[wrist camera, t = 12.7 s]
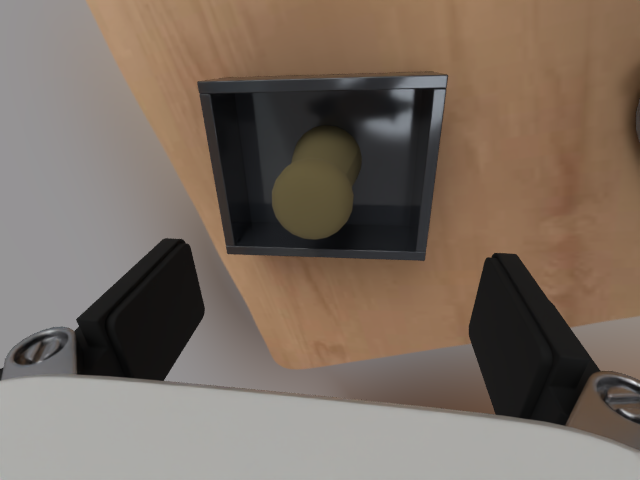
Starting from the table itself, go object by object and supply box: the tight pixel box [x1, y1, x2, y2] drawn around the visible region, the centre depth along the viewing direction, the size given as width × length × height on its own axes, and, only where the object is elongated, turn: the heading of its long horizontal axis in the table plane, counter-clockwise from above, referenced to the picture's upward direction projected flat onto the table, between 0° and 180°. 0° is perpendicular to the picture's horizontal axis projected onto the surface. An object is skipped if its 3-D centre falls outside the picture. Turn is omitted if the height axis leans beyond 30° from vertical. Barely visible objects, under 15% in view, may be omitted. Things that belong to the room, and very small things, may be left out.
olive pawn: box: [272, 125, 362, 240], centre depth 25 cm, size 6×6×11 cm
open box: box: [197, 71, 448, 261], centre depth 29 cm, size 14×17×6 cm
